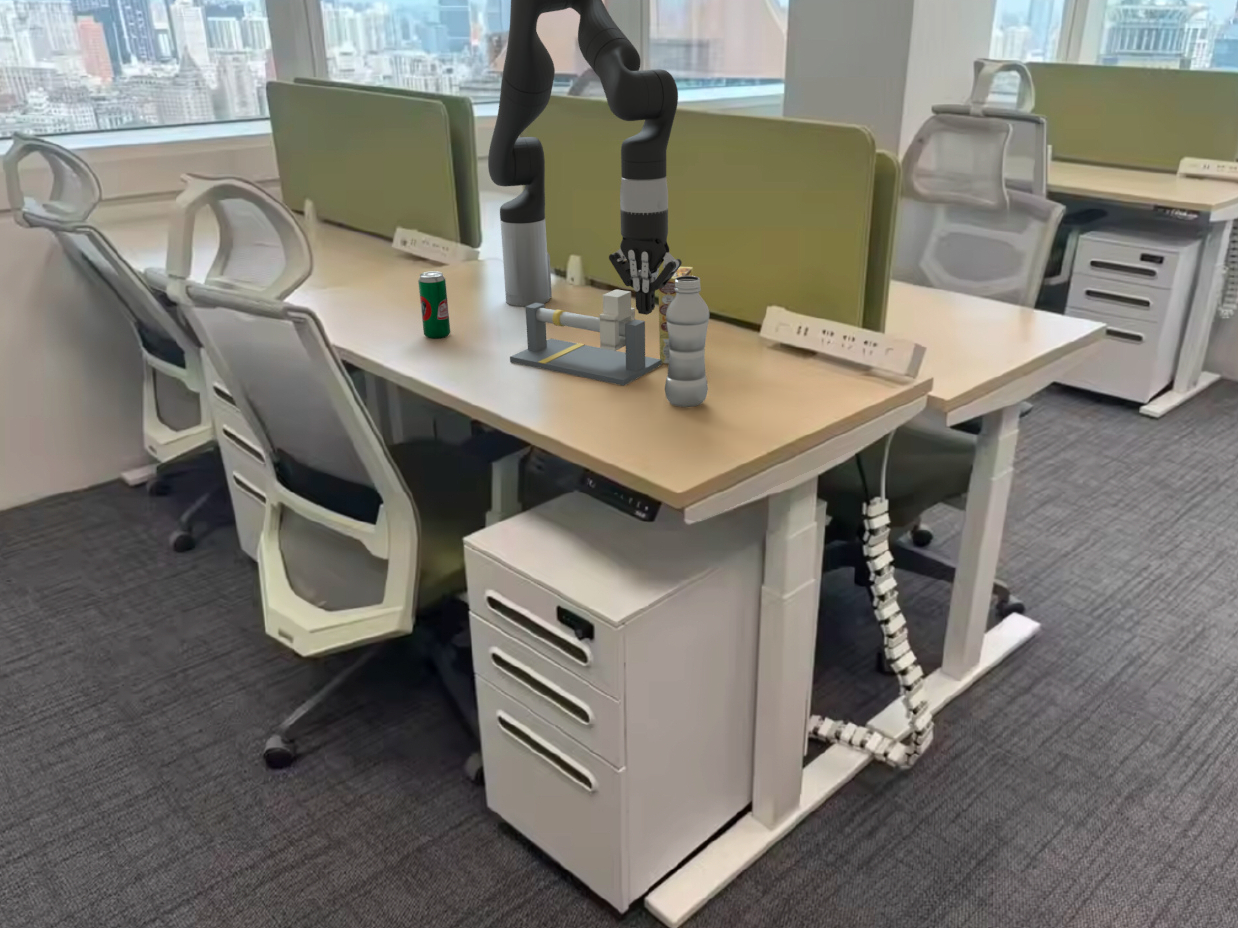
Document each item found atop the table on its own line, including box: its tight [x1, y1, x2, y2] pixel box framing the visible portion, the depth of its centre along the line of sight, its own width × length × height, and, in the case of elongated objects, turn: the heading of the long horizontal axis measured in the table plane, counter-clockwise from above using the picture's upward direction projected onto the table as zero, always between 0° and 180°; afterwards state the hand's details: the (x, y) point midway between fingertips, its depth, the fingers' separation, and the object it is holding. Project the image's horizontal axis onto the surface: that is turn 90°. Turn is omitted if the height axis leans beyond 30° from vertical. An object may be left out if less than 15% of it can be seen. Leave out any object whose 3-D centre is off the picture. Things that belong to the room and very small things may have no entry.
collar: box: [599, 288, 636, 351], centre depth 168 cm, size 6×3×9 cm, turn 147°
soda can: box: [417, 270, 451, 340], centre depth 190 cm, size 5×5×12 cm
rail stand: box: [509, 303, 662, 387], centre depth 174 cm, size 12×24×9 cm, turn 57°
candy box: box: [658, 265, 694, 365], centre depth 175 cm, size 9×4×15 cm, turn 162°
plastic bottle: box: [664, 275, 711, 408], centre depth 153 cm, size 6×7×20 cm
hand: (645, 313), depth 165 cm, fingers closed
